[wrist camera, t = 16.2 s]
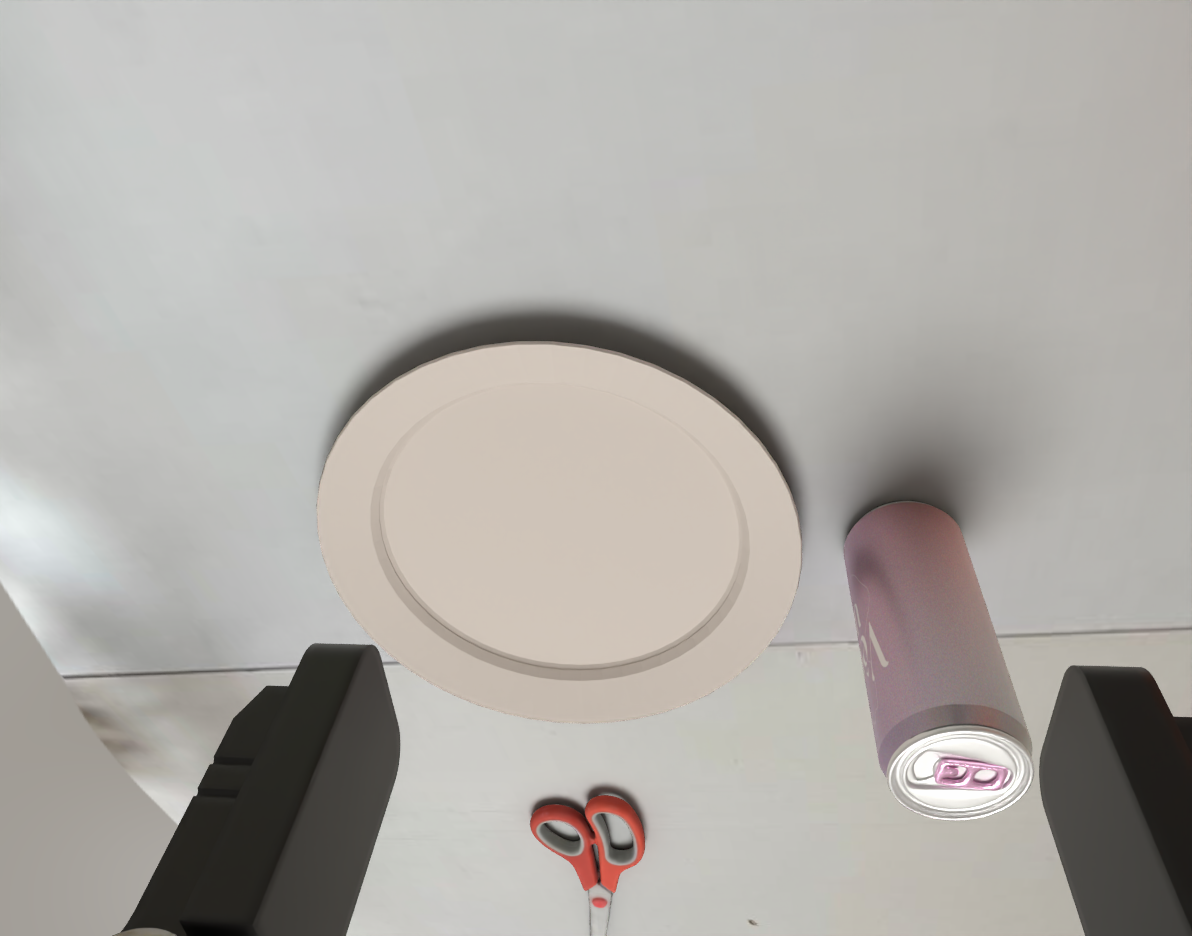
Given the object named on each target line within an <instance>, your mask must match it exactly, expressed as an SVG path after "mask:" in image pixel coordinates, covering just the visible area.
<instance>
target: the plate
mask: <svg viewBox="0 0 1192 936" xmlns="http://www.w3.org/2000/svg"><path fill="white" fill-rule="evenodd" d="M317 528H318V535H319V541H320V546H321V551H322V556H323V558H324V561H325V564H326V567H327V570H328V573H329V575H330V578H331V580H332V582H333V584H334V586H335V588H336V590H337V592H338V594H339V596H340V598H341V599H342V601H343V602H344V604H345V605H346V607H347V608H348V610H349V611H350V613H351V614H352V616H353V617H354V618H355V620H356V621H357V622H358V623H359V624H360V626H361V627H362V628H363V629H364V630H365V631H366V633H367V634H368V635H369V636H370V637H371V638H372V639H373V640H374V641H375V642H376V643H377V644H378V645H379V646H380V647H381V648H383V649H384V650H385V651H386V652H387V653H388V654H389V655H390V656H391V657H393V658H394V659H395V660H397V661H398V662H399V663H401V664H402V665H403V666H405V667H406V668H407V669H408V670H410V671H411V672H413V673H415V674H416V675H418V676H419V677H421V678H423V679H424V680H426V681H427V682H429V683H431V684H432V685H434V686H436V687H438V688H440V689H442V690H444V691H446V692H448V693H450V694H452V695H454V696H456V697H459V698H461V699H464V700H466V701H469V702H471V703H474V704H476V705H479V706H482V707H485V708H489V709H492V710H495V711H498V712H502V713H505V714H510V715H514V716H519V717H524V718H528V719H534V720H542V721H550V722H558V723H582V724H587V723H609V722H618V721H625V720H632V719H638V718H643V717H647V716H651V715H656V714H660V713H663V712H666V711H669V710H672V709H675V708H678V707H681V706H684V705H687V704H689V703H691V702H693V701H695V700H698V699H700V698H702V697H704V696H706V695H708V694H710V693H712V692H713V691H715V690H717V689H718V688H720V687H722V686H723V685H725V684H727V683H728V682H730V681H731V680H732V679H734V678H735V677H736V676H737V675H739V674H740V673H741V672H743V671H744V670H745V669H746V668H748V667H749V666H750V665H751V664H752V663H753V662H754V661H755V660H756V659H757V658H758V657H759V656H760V655H761V654H762V653H763V652H764V650H765V649H766V648H767V646H768V645H769V644H770V642H771V641H772V640H773V638H774V637H775V636H776V634H777V633H778V632H779V630H780V628H781V626H782V624H783V622H784V620H785V618H786V617H787V615H788V613H789V611H790V609H791V606H792V603H793V600H794V597H795V594H796V591H797V589H798V584H799V578H800V573H801V567H802V535H801V529H800V523H799V517H798V512H797V509H796V506H795V503H794V500H793V497H792V494H791V491H790V489H789V487H788V485H787V483H786V481H785V479H784V477H783V475H782V473H781V471H780V469H779V467H778V465H777V463H776V462H775V461H774V459H773V458H772V456H771V455H770V454H769V452H768V451H767V449H766V448H765V447H764V445H763V444H762V442H761V441H760V440H759V439H758V438H757V437H756V435H755V434H754V433H753V432H752V431H751V430H750V429H749V428H748V427H747V426H746V425H745V424H744V423H743V422H742V421H741V420H740V418H738V417H737V416H736V415H735V414H734V413H732V412H731V411H730V410H729V409H728V408H726V407H725V406H724V405H723V404H721V403H720V402H719V401H718V400H717V399H715V398H714V397H713V396H711V395H709V394H708V393H706V392H705V391H703V390H702V389H700V388H698V387H697V386H695V385H694V384H692V383H690V382H689V381H687V380H686V379H684V378H682V377H680V376H677V375H675V374H673V373H671V372H669V371H667V370H665V369H663V368H661V367H659V366H657V365H655V364H652V363H649V362H646V361H643V360H640V359H637V358H634V357H631V356H629V355H626V354H623V353H619V352H615V351H610V350H606V349H601V348H597V347H593V346H588V345H581V344H572V343H563V342H554V341H515V342H507V343H498V344H490V345H482V346H478V347H474V348H470V349H466V350H462V351H458V352H453V353H450V354H447V355H445V356H442V357H439V358H437V359H434V360H432V361H429V362H426V363H424V364H421V365H419V366H417V367H416V368H414V369H412V370H410V371H408V372H406V373H405V374H403V375H401V376H399V377H397V378H395V379H394V380H393V381H391V382H390V383H389V384H387V385H386V386H384V387H383V388H382V389H380V390H379V391H378V392H376V393H375V394H374V395H372V396H371V397H370V398H369V399H368V400H367V401H366V402H365V403H364V404H363V405H362V406H361V407H360V408H359V409H358V410H357V411H356V412H355V413H354V415H353V416H352V417H351V418H350V420H349V421H348V423H347V424H346V425H345V427H344V428H343V430H342V431H341V432H340V434H339V435H338V437H337V439H336V441H335V443H334V445H333V447H332V449H331V451H330V453H329V455H328V457H327V459H326V462H325V466H324V469H323V472H322V476H321V479H320V483H319V491H318V499H317Z"/></svg>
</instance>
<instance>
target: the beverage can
mask: <svg viewBox="0 0 1192 936" xmlns="http://www.w3.org/2000/svg"><path fill="white" fill-rule="evenodd" d="M844 559H845V565H846V571H847V577H848V583H849V589H850V595H851V600H852V606H853V612H854V618H855V624H856V630H857V636H858V641H859V647H860V653H861V659H862V665H863V671H864V677H865V683H866V688H867V694H868V700H869V706H870V712H871V718H872V724H873V729H874V735H875V741H876V747H877V753H878V759H879V764H880V767H881V769H882V771H883V773H884V775H885V776H886V778H887V783H888V786H889V789H890V791H891V793H892V794H893V796H894V797H895V798H896V800H897V801H898V802H899V803H901V804H902V805H903V806H904V807H906V808H907V809H909V810H911V811H913V812H915V813H917V814H920V815H922V816H926V817H929V818H934V819H940V820H951V821H959V820H971V819H977V818H982V817H986V816H989V815H992V814H995V813H998V812H1000V811H1002V810H1004V809H1006V808H1008V807H1010V806H1011V805H1013V804H1014V803H1016V802H1017V801H1018V800H1019V799H1021V798H1022V797H1023V796H1024V794H1025V793H1026V792H1027V791H1028V789H1029V787H1030V786H1031V783H1032V781H1033V777H1034V764H1033V760H1032V742H1031V738H1030V735H1029V732H1028V729H1027V726H1026V723H1025V720H1024V717H1023V714H1022V711H1021V708H1020V705H1019V703H1018V700H1017V697H1016V694H1015V691H1014V688H1013V685H1012V682H1011V679H1010V676H1009V673H1008V670H1007V667H1006V664H1005V661H1004V658H1003V655H1002V652H1001V649H1000V646H999V643H998V640H997V637H996V634H995V631H994V628H993V625H992V622H991V619H990V616H989V613H988V610H987V607H986V604H985V601H984V598H983V595H982V592H981V589H980V586H979V583H978V580H977V577H976V574H975V571H974V568H973V565H972V562H971V559H970V556H969V553H968V550H967V547H966V544H965V541H964V538H963V535H962V532H961V530H960V528H959V526H958V524H957V523H956V522H955V521H954V519H953V518H952V517H950V516H949V515H948V514H947V513H945V512H943V511H942V510H940V509H938V508H936V507H933V506H931V505H928V504H925V503H921V502H915V501H897V502H892V503H888V504H884V505H881V506H879V507H877V508H875V509H873V510H871V511H870V512H868V513H867V514H865V515H864V516H863V517H862V518H861V519H860V520H859V521H858V522H857V523H856V524H855V525H854V527H853V528H852V529H851V531H850V532H849V534H848V536H847V538H846V541H845V545H844Z"/></svg>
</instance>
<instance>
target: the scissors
mask: <svg viewBox="0 0 1192 936" xmlns="http://www.w3.org/2000/svg"><path fill="white" fill-rule="evenodd" d="M600 813H607V814H612V815H615V816H618V817H619V818H621V819H622V820H623V821H624V822H625V823H626V825H627V826H628V828H629V830H630V832H631V835H632V838H633V847H632V848H631V849H628V850H616V849H613V848H612V847H611V846H610V838H609V833H608V829H607V826H606V823H605V821H604V819H603V817H602V815H601V814H600ZM585 815H586V818H587V820H588V822H589V823H590V825H591V827H592V829H593V830H594V831H592V830H591V828H590V826H589V824H588V822H587V820H586V819H585V817H584V816H583V815H582V814H581V813H579V812H578V811H577V810H575V809H573V808H571V807H568V806H565V805H556V804H552V805H546V806H542V807H540V808H539V809H537V810H536V811H535V812H534V813H533V815H532V817H531V820H530V827H531V830H532V833H533V835H534V836H535V837H536V838H537V840H538V841H539V842H541V843H542V844H543V845H544V846H545V847H547V848H548V849H550V850H551V851H553V852H554V853H556V854H558V855H560V856H561V857H563V858H565V859H566V860H568V861H569V862H570V863H571V864H572V865H573V866H574V868H575V870H576V872H577V874H578V876H579V879H580V881H581V884H582V886H583V888H584V890H585V891H587V890H589V905H590V936H606V931H607V926H608V918H609V911H610V905H611V897H612V892H613V893H614V892H615V891H616V887H617V883H618V879H619V875H620V873H621V872H622V871H624V870H625V869H628V868H630V867H632V866H634V865H636V864H637V863H638V862H639V861H640V860H641V858H642V856H643V854H644V850H645V836H644V831H643V827H642V824H641V822H640V819H639V818H638V816H637V814H636V812H635V811H634V810H633V808H632V807H631V806H630V805H629V804H628V803H627V802H625V801H624V800H622V799H620V798H617V797H614V796H608V795H601V796H596V797H594V798H592V799H591V800H590V801H589V802H588V803H587V805H586V807H585ZM552 821H556V822H562V823H565V824H567V825H569V826H571V827H572V828H573V829H574V830H575V831H576V832H577V833H578V835H579V837H580V840H579V841H568V840H566V839H564V838H562V837H559V836H558V835H556V834H554V833H553V832H551V831H550V830H549V829H548V828H547V827H546V826H545V825H544V823H547V822H552ZM595 843H596V845H598V856H599V871H598V869H597V865H596V860H595V855H594V850H593V846H592V844H595ZM599 878H600V879H601V880H600V881H598V879H599Z"/></svg>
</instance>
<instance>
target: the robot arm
mask: <svg viewBox="0 0 1192 936" xmlns="http://www.w3.org/2000/svg"><path fill="white" fill-rule="evenodd" d="M399 758H400V732H399V726H398V722H397V718H396V714H395V710H394V706H393V703H392V699H391V695H390V691H389V687H388V683H387V679H386V676H385V672H384V668H383V664H382V660H381V657H380V653H379V651H378V649H377V648H376V647H375V646H374V645H357V644H318V643H314V644H312V645H311V646H310V647H309V648H308V649H307V650H306V652H305V653H304V655H303V657H302V659H301V662H300V664H299V666H298V668H297V670H296V672H295V674H294V676H293V679H292V681H291V683H290V685H289V686H266V687H265V688H264V689H263V690H262V691H261V692H260V693H259V694H258V695H257V696H256V697H255V698H254V699H253V700H252V701H251V702H250V703H249V704H248V705H247V706H246V707H245V708H244V709H243V710H242V711H241V712H240V713H239V714H237V715H236V716H235V717H234V718H233V720H232V722H231V724H230V726H229V728H228V730H227V732H226V734H225V736H224V738H223V740H222V742H221V744H220V746H219V748H218V749H217V751H216V753H215V755H214V763H213V764H210V765H209V767H208V769H207V771H206V773H205V775H204V777H203V779H202V781H201V783H200V785H199V786H198V794H197V796H193V798H192V800H191V802H190V804H189V806H188V808H187V810H186V812H185V814H184V816H183V818H182V820H181V822H180V823H179V825H178V828H177V829H176V831H175V833H174V835H173V837H172V839H171V841H170V843H169V845H168V847H167V849H166V851H165V853H164V855H163V857H162V859H161V860H160V863H159V864H158V866H157V868H156V870H155V872H154V874H153V876H152V878H151V880H150V882H149V884H148V886H147V888H146V890H145V892H144V894H143V896H142V898H141V899H140V901H139V904H138V905H137V907H136V909H135V911H134V913H133V915H132V916H131V918H130V920H129V921H128V923H127V925H126V926H125V927H124V929H123V930H122V931H121V932H120V933H118V934H115V935H113V936H346V933H347V930H348V927H349V924H350V921H351V918H352V914H353V911H354V908H355V905H356V902H357V899H358V896H359V893H360V889H361V886H362V883H363V880H364V877H365V874H366V871H367V867H368V864H369V861H370V858H371V855H372V852H373V849H374V845H375V842H376V839H377V836H378V833H379V830H380V827H381V824H382V820H383V817H384V814H385V811H386V808H387V805H388V802H389V798H390V795H391V792H392V789H393V786H394V783H395V779H396V776H397V771H398V765H399ZM1039 778H1040V790H1041V796H1042V801H1043V806H1044V809H1045V813H1046V816H1047V819H1048V822H1049V825H1050V828H1051V831H1052V834H1053V837H1054V840H1055V844H1056V847H1057V850H1058V853H1059V856H1060V859H1061V862H1062V865H1063V868H1064V871H1065V874H1066V877H1067V881H1068V884H1069V887H1070V890H1071V893H1072V896H1073V899H1074V902H1075V905H1076V908H1077V911H1078V914H1079V918H1080V921H1081V924H1082V927H1083V930H1084V933H1085V936H1192V717H1173V715H1172V713H1171V711H1170V709H1169V707H1168V705H1167V703H1166V701H1165V699H1164V697H1163V695H1162V693H1161V691H1160V689H1159V687H1158V685H1157V683H1156V681H1155V680H1154V678H1153V676H1152V675H1151V674H1150V672H1149V671H1147V670H1146V669H1145V668H1142V667H1110V666H1070V667H1069V668H1068V669H1067V670H1066V672H1065V674H1064V677H1063V680H1062V683H1061V687H1060V690H1059V693H1058V697H1057V700H1056V704H1055V707H1054V710H1053V714H1052V717H1051V721H1050V724H1049V727H1048V731H1047V734H1046V737H1045V741H1044V744H1043V748H1042V751H1041V756H1040V766H1039Z"/></svg>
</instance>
